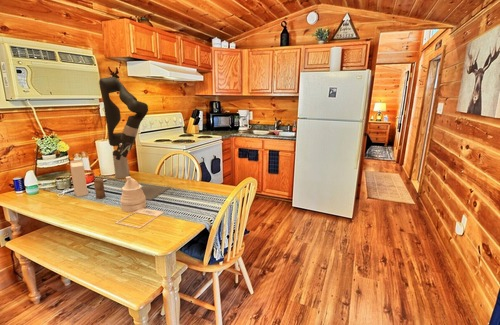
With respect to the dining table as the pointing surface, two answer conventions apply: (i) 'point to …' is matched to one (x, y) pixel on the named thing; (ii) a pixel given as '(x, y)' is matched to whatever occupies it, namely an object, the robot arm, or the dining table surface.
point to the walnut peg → (99, 188)
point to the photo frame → (149, 212)
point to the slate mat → (153, 191)
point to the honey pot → (132, 196)
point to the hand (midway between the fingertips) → (121, 158)
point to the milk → (78, 178)
